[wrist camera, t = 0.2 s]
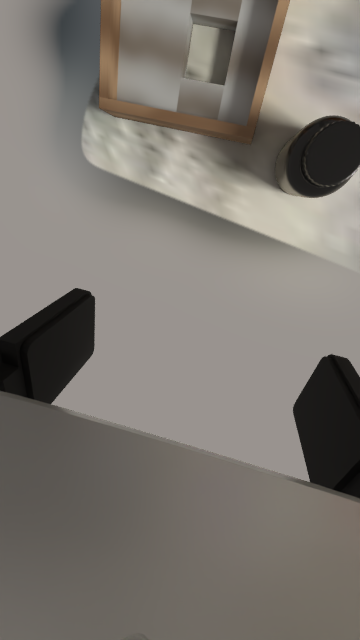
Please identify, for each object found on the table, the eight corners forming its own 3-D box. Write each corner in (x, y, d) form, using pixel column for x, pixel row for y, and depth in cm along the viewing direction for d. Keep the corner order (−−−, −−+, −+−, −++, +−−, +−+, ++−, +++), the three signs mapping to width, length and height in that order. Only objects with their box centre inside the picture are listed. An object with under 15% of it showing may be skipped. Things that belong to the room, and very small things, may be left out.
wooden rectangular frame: (122, -53, 26) (102, -94, 22) (296, -27, 25) (307, -66, 21) (115, 116, 33) (99, 108, 29) (250, 144, 32) (252, 139, 28)
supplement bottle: (337, 182, 32) (385, 181, 21) (280, 204, 34) (299, 213, 24) (328, 119, 29) (379, 84, 19) (268, 148, 32) (283, 131, 21)
